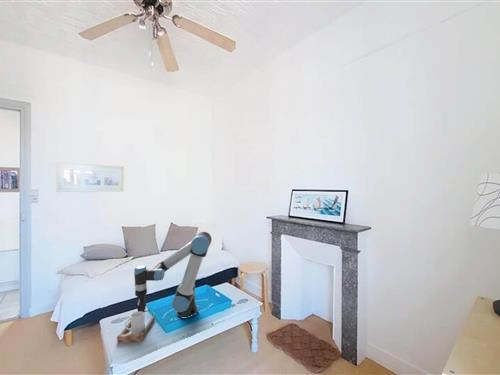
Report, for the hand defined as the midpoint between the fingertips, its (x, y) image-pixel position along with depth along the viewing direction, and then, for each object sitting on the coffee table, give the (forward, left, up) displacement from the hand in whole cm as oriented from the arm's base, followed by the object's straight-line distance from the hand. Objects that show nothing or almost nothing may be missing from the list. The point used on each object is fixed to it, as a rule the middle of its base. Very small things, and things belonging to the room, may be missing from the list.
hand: (142, 322), depth 177 cm
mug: (+1, +10, -2) cm, 10 cm away
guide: (0, +7, -1) cm, 7 cm away
